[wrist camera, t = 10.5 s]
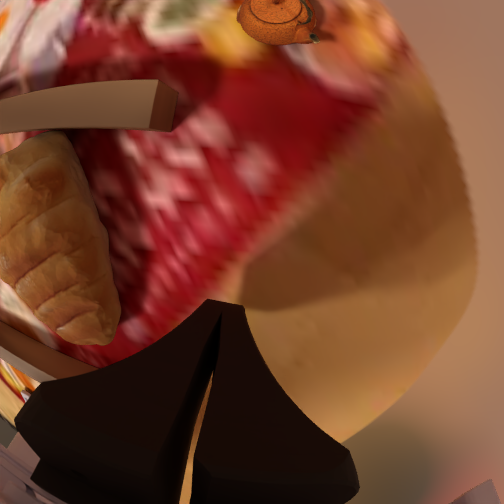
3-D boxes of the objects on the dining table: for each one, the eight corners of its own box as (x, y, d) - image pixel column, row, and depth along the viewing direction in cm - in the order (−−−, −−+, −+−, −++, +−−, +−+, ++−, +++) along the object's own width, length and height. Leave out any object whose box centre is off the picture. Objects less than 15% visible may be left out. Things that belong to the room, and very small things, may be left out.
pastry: (167, 307, 12) (133, 366, 8) (77, 339, 13) (42, 381, 9) (73, 116, 9) (9, 114, 5) (2, 193, 10) (-48, 210, 6)
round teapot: (310, -6, 7) (321, -42, 4) (318, 55, 8) (334, 26, 5) (234, -5, 7) (226, -42, 4) (236, 55, 8) (227, 25, 5)
